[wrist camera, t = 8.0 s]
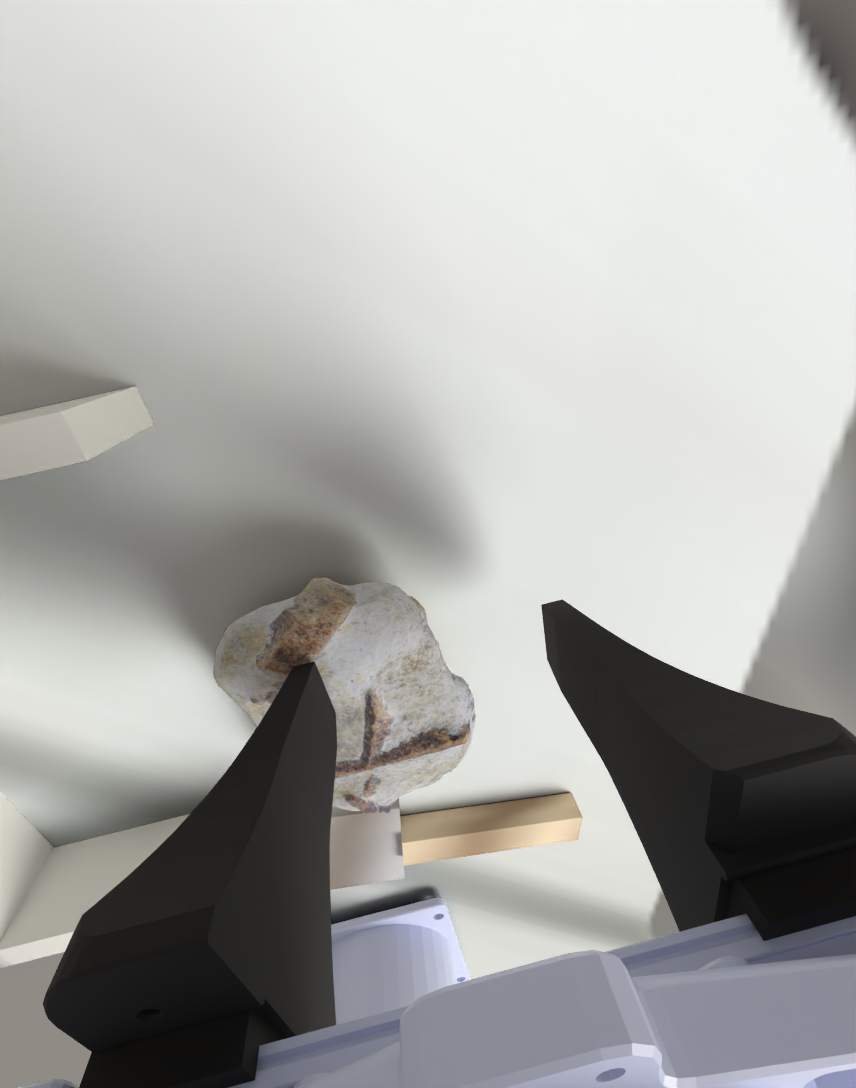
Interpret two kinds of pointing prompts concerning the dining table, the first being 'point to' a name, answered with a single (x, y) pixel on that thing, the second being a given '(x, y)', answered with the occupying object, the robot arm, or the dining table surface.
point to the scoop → (442, 835)
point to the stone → (358, 684)
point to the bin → (3, 832)
